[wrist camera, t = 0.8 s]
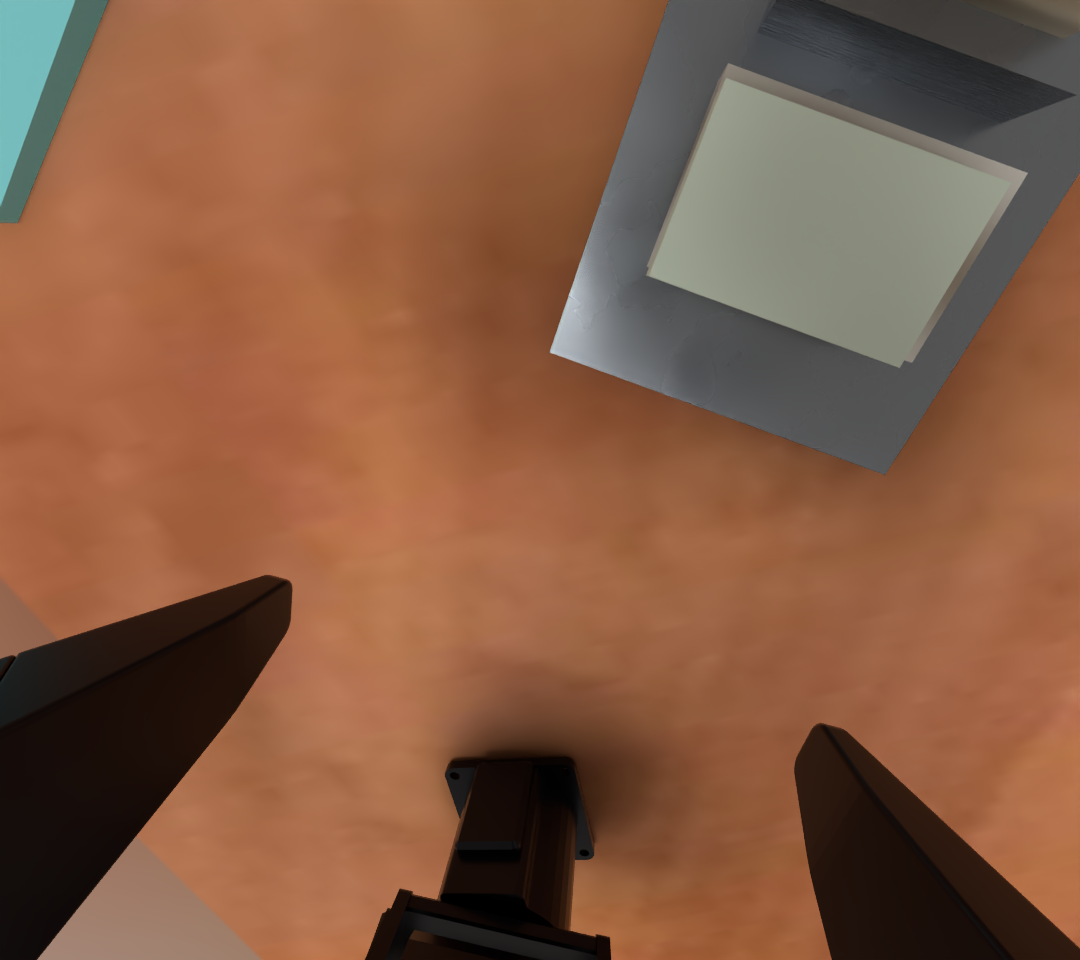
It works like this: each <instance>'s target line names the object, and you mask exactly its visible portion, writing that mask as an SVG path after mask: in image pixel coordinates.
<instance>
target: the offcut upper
mask: <svg viewBox="0 0 1080 960" xmlns="http://www.w3.org/2000/svg"><path fill="white" fill-rule="evenodd" d="M1010 185H1011V182H1008V181H1006V180H1003V179H1000V178H997V177H995V176H992V175H989V174H987V173H984V172H981V171H978V170H976V169H973V168H970V167H967V166H965V165H962V164H959V163H957V162H954V161H951V160H948V159H946V158H943V157H940V156H938V155H935V154H932V153H929V152H927V151H924V150H921V149H918V148H916V147H913V146H910V145H908V144H905V143H902V142H899V141H897V140H894V139H891V138H888V137H886V136H883V135H880V134H878V133H875V132H872V131H869V130H867V129H864V128H861V127H858V126H856V125H853V124H850V123H848V122H845V121H842V120H839V119H837V118H834V117H831V116H828V115H826V114H823V113H820V112H818V111H815V110H812V109H809V108H807V107H804V106H801V105H799V104H796V103H793V102H790V101H788V100H785V99H782V98H779V97H777V96H774V95H771V94H769V93H766V92H763V91H760V90H758V89H755V88H752V87H749V86H747V85H744V84H741V83H739V82H736V81H733V80H730V79H728V78H726V79H725V81H724V82H723V84H722V86H721V88H720V89H719V91H718V93H717V95H716V96H715V99H714V101H713V104H712V106H711V109H710V111H709V114H708V117H707V119H706V122H705V124H704V127H703V129H702V132H701V135H700V137H699V140H698V142H697V145H696V148H695V150H694V153H693V155H692V158H691V160H690V163H689V166H688V168H687V171H686V173H685V176H684V178H683V181H682V184H681V186H680V189H679V191H678V194H677V197H676V199H675V202H674V204H673V207H672V209H671V212H670V215H669V217H668V220H667V222H666V225H665V227H664V230H663V233H662V235H661V238H660V240H659V243H658V246H657V248H656V251H655V253H654V256H653V258H652V261H651V264H650V266H649V269H648V271H647V274H646V276H649V277H652V278H655V279H657V280H660V281H663V282H665V283H668V284H671V285H674V286H676V287H679V288H682V289H685V290H687V291H690V292H693V293H696V294H698V295H701V296H704V297H706V298H709V299H712V300H715V301H717V302H720V303H723V304H726V305H728V306H731V307H734V308H737V309H739V310H742V311H745V312H747V313H750V314H753V315H756V316H758V317H761V318H764V319H767V320H769V321H772V322H775V323H777V324H780V325H783V326H786V327H788V328H791V329H794V330H797V331H799V332H802V333H805V334H808V335H810V336H813V337H816V338H818V339H821V340H824V341H827V342H829V343H832V344H835V345H838V346H840V347H843V348H846V349H849V350H851V351H854V352H857V353H859V354H862V355H865V356H868V357H870V358H873V359H876V360H879V361H882V362H884V363H887V364H890V365H893V366H896V367H899V368H900V367H901V365H902V363H903V362H904V360H905V358H906V357H907V355H908V353H909V352H910V350H911V348H912V347H913V345H914V343H915V342H916V340H917V338H918V337H919V335H920V333H921V332H922V330H923V329H924V327H925V325H926V324H927V322H928V320H929V319H930V317H931V315H932V314H933V312H934V310H935V309H936V307H937V305H938V304H939V302H940V300H941V299H942V297H943V295H944V294H945V292H946V290H947V289H948V287H949V286H950V284H951V282H952V281H953V279H954V277H955V276H956V274H957V272H958V271H959V269H960V267H961V266H962V264H963V262H964V261H965V259H966V257H967V256H968V254H969V252H970V251H971V249H972V247H973V246H974V244H975V242H976V241H977V239H978V238H979V236H980V234H981V233H982V231H983V229H984V228H985V226H986V224H987V223H988V221H989V219H990V218H991V216H992V214H993V213H994V211H995V209H996V208H997V206H998V204H999V203H1000V201H1001V199H1002V198H1003V196H1004V194H1005V193H1006V191H1007V190H1008V188H1009V186H1010Z"/></svg>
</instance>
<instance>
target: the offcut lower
mask: <svg viewBox="0 0 1080 960" xmlns="http://www.w3.org/2000/svg"><path fill="white" fill-rule="evenodd" d="M726 78H728V79H730V80H733V81H736V82H739V83H741V84H744V85H747V86H749V87H752V88H755V89H758V90H760V91H763V92H766V93H769V94H771V95H774V96H777V97H779V98H782V99H785V100H788V101H790V102H793V103H796V104H799V105H801V106H804V107H807V108H809V109H812V110H815V111H818V112H820V113H823V114H826V115H828V116H831V117H834V118H837V119H839V120H842V121H845V122H848V123H850V124H853V125H856V126H858V127H861V128H864V129H867V130H869V131H872V132H875V133H878V134H880V135H883V136H886V137H888V138H891V139H894V140H897V141H899V142H902V143H905V144H908V145H910V146H913V147H916V148H918V149H921V150H924V151H927V152H929V153H932V154H935V155H938V156H940V157H943V158H946V159H948V160H951V161H954V162H957V163H959V164H962V165H965V166H967V167H970V168H973V169H976V170H978V171H981V172H984V173H987V174H989V175H992V176H995V177H997V178H1000V179H1003V180H1006V181H1008V182H1011V185H1010V186H1009V188H1008V190H1007V191H1006V193H1005V194H1004V196H1003V198H1002V199H1001V201H1000V203H999V204H998V206H997V208H996V209H995V211H994V213H993V214H992V216H991V218H990V219H989V221H988V223H987V224H986V226H985V228H984V229H983V231H982V233H981V234H980V236H979V238H978V239H977V241H976V242H975V244H974V246H973V247H972V249H971V251H970V252H969V254H968V256H967V257H966V259H965V261H964V262H963V264H962V266H961V267H960V269H959V271H958V272H957V274H956V276H955V277H954V279H953V281H952V282H951V284H950V286H949V287H948V289H947V290H946V292H945V294H944V295H943V297H942V299H941V300H940V302H939V304H938V305H937V307H936V309H935V310H934V312H933V314H932V315H931V317H930V319H929V320H928V322H927V324H926V325H925V327H924V329H923V330H922V332H921V333H920V335H919V337H918V338H917V340H916V342H915V343H914V345H913V347H912V348H911V350H910V352H909V353H908V355H907V357H906V358H905V361H908V362H911V363H912V362H913V360H914V359H915V357H916V356H917V354H918V352H919V351H920V349H921V347H922V346H923V344H924V342H925V341H926V339H927V338H928V336H929V334H930V333H931V331H932V329H933V328H934V326H935V324H936V323H937V321H938V320H939V318H940V316H941V315H942V313H943V311H944V310H945V308H946V306H947V305H948V303H949V302H950V300H951V298H952V297H953V295H954V293H955V292H956V290H957V288H958V287H959V285H960V284H961V282H962V280H963V279H964V277H965V275H966V274H967V272H968V270H969V269H970V267H971V266H972V264H973V262H974V261H975V259H976V257H977V256H978V254H979V252H980V251H981V249H982V248H983V246H984V244H985V243H986V241H987V239H988V238H989V236H990V234H991V233H992V231H993V230H994V228H995V226H996V225H997V223H998V221H999V220H1000V218H1001V216H1002V215H1003V213H1004V212H1005V210H1006V208H1007V207H1008V205H1009V203H1010V202H1011V200H1012V198H1013V197H1014V195H1015V194H1016V192H1017V190H1018V189H1019V187H1020V185H1021V184H1022V182H1023V180H1024V179H1025V177H1026V176H1027V174H1028V173H1026V172H1024V171H1021V170H1018V169H1015V168H1013V167H1010V166H1007V165H1005V164H1002V163H999V162H996V161H994V160H991V159H988V158H985V157H983V156H980V155H977V154H975V153H972V152H969V151H966V150H964V149H961V148H958V147H956V146H953V145H950V144H947V143H945V142H942V141H939V140H936V139H934V138H931V137H928V136H926V135H923V134H920V133H917V132H915V131H912V130H909V129H906V128H904V127H901V126H898V125H896V124H893V123H890V122H887V121H885V120H882V119H879V118H876V117H874V116H871V115H868V114H866V113H863V112H860V111H857V110H855V109H852V108H849V107H847V106H844V105H841V104H838V103H836V102H833V101H830V100H827V99H825V98H822V97H819V96H817V95H814V94H811V93H808V92H806V91H803V90H800V89H797V88H795V87H792V86H789V85H787V84H784V83H781V82H778V81H776V80H773V79H770V78H767V77H765V76H762V75H759V74H757V73H754V72H751V71H748V70H746V69H743V68H740V67H737V66H735V65H732V64H729V63H728V64H727V66H726V68H725V70H724V72H723V74H722V75H721V77H720V79H719V81H718V83H717V85H716V88H715V91H714V93H713V96H712V98H711V101H710V104H709V106H708V109H707V111H706V114H705V117H704V119H703V122H702V124H701V127H700V130H699V132H698V135H697V137H696V140H695V143H694V145H693V148H692V150H691V153H690V155H689V158H688V161H687V163H686V166H685V168H684V171H683V174H682V176H681V179H680V181H679V184H678V187H677V189H676V192H675V194H674V197H673V200H672V202H671V205H670V207H669V210H668V212H667V215H666V218H665V220H664V223H663V225H662V228H661V231H660V233H659V236H658V238H657V241H656V244H655V246H654V249H653V251H652V254H651V257H650V259H649V262H648V264H647V267H648V268H649V266H650V264H651V261H652V258H653V256H654V253H655V251H656V248H657V246H658V243H659V240H660V238H661V235H662V233H663V230H664V227H665V225H666V222H667V220H668V217H669V215H670V212H671V209H672V207H673V204H674V202H675V199H676V197H677V194H678V191H679V189H680V186H681V184H682V181H683V178H684V176H685V173H686V171H687V168H688V166H689V163H690V160H691V158H692V155H693V153H694V150H695V148H696V145H697V142H698V140H699V137H700V135H701V132H702V129H703V127H704V124H705V122H706V119H707V117H708V114H709V111H710V109H711V106H712V104H713V101H714V99H715V96H716V95H717V93H718V91H719V89H720V88H721V86H722V84H723V82H724V81H725V79H726Z"/></svg>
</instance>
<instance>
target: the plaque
mask: <svg viewBox="0 0 1080 960" xmlns="http://www.w3.org/2000/svg"><path fill="white" fill-rule="evenodd" d="M107 3H108V0H0V223H18V221H19V218H20V216H21V214H22V211H23V209H24V206H25V204H26V201H27V199H28V196H29V194H30V192H31V189H32V187H33V184H34V182H35V179H36V177H37V174H38V172H39V169H40V167H41V165H42V162H43V160H44V157H45V155H46V152H47V150H48V147H49V145H50V143H51V140H52V138H53V135H54V133H55V130H56V128H57V125H58V123H59V121H60V118H61V116H62V113H63V111H64V108H65V106H66V103H67V101H68V98H69V96H70V94H71V91H72V89H73V86H74V84H75V81H76V79H77V76H78V74H79V72H80V69H81V67H82V64H83V62H84V59H85V57H86V54H87V52H88V49H89V47H90V45H91V42H92V40H93V37H94V35H95V32H96V30H97V27H98V25H99V23H100V20H101V18H102V15H103V13H104V10H105V8H106V5H107Z"/></svg>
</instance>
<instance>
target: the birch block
mask: <svg viewBox="0 0 1080 960" xmlns="http://www.w3.org/2000/svg"><path fill="white" fill-rule="evenodd" d="M959 1H961V2H964V3H967V4H970V5H972V6H975V7H978V8H981V9H983V10H986V11H989V12H991V13H994V14H997V15H1000V16H1002V17H1005V18H1008V19H1010V20H1013V21H1016V22H1019V23H1021V24H1024V25H1027V26H1029V27H1032V28H1035V29H1038V30H1040V31H1043V32H1046V33H1049V34H1051V35H1054V36H1057V37H1059V38H1062V39H1065V38H1067V37H1069V36H1071V35H1073V34H1075V33H1077V32H1079V31H1080V0H959Z"/></svg>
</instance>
